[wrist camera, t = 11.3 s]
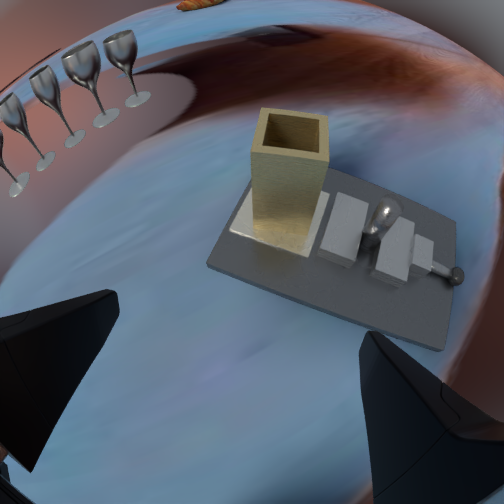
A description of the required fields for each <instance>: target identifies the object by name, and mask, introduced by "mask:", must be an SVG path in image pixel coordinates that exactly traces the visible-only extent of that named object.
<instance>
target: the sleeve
mask: <svg viewBox="0 0 504 504" xmlns="http://www.w3.org/2000/svg"><path fill="white" fill-rule="evenodd" d="M250 153H251V181H252V210H253V228H254V229H262V230H270V231H277V232H284V233H292V234H299V235H306V236H307V235H308V232H309V229H310V226H311V222H312V219H313V216H314V213H315V209H316V206H317V203H318V199H319V196H320V193H321V189H322V186H323V182H324V179H325V176H326V172H327V168H328V165H329V132H328V116H324V115H318V114H312V113H305V112H297V111H289V110H281V109H271V108H261V111H260V115H259V119H258V123H257V127H256V131H255V135H254V139H253V143H252V147H251V151H250Z"/></svg>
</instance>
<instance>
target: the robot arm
mask: <svg viewBox="0 0 504 504" xmlns="http://www.w3.org/2000/svg"><path fill="white" fill-rule="evenodd" d="M119 313H120V309H119V302H118V295H117V293H116V292H115V291H113V290H109V289H105V290H101V291H97V292H94V293H90V294H87V295H83V296H79V297H76V298H72V299H69V300H65V301H61V302H58V303H54V304H51V305H47V306H44V307H40V308H36V309H33V310H31V311H30V310H29V311H26V312H22V313H18V314H14V315H10V316H6V317H1V318H0V504H35V503H34V502H33V501H31V500H30V499H29V498H28V497H26V496H25V495H24V494H23V493H21V492H20V491H19V490H18V489H17V488H15V487H14V486H13V485H12V484H11V483H10V478H9V473H8V467H7V465H6V464H5V463H4V462H3V461H4V459H5V458H6V457H7V455H9V456H10V457H11V458H12V459H14V460H15V461H16V462H17V463H18V464H20V465H21V466H22V467H23V468H25V469H26V470H27V471H28V472H30V473H31V472H32V471H33V469H34V467H35V465H36V463H37V461H38V459H39V457H40V454H41V452H42V450H43V449H44V447H45V445H46V443H47V441H48V439H49V437H50V435H51V433H52V431H53V429H54V427H55V425H56V424H57V422H58V420H59V418H60V416H61V415H62V413H63V411H64V409H65V408H66V406H67V404H68V402H69V401H70V399H71V397H72V395H73V394H74V392H75V390H76V389H77V387H78V385H79V384H80V382H81V380H82V379H83V377H84V376H85V374H86V372H87V371H88V369H89V367H90V366H91V364H92V363H93V361H94V360H95V358H96V356H97V355H98V353H99V352H100V350H101V349H102V347H103V345H104V343H105V342H106V340H107V338H108V336H109V334H110V332H111V330H112V328H113V326H114V324H115V322H116V320H117V318H118V316H119ZM359 366H360V384H361V395H362V402H363V408H364V415H365V422H366V429H367V436H368V444H369V453H370V462H371V473H372V485H373V498H374V499H373V503H374V504H504V422H501V421H498V420H496V419H494V418H492V417H491V416H490V415H488V414H487V413H485V412H484V411H482V410H481V409H479V408H478V407H476V406H475V405H473V404H472V403H470V402H469V401H467V400H466V399H465V398H463V397H462V396H460V395H459V394H457V393H456V392H455V391H454V390H452V389H451V388H450V387H449V386H447V385H446V384H445V383H444V382H443V383H442V381H441V380H440V379H439V378H437V377H436V376H435V375H433V374H432V373H431V372H430V371H428V370H427V369H426V368H425V367H423V366H422V365H421V364H420V363H418V362H417V361H416V360H414V359H413V358H412V357H411V356H409V355H408V354H407V353H406V352H404V351H403V350H402V349H400V348H399V347H398V346H397V345H395V344H394V343H393V342H392V341H390V340H389V339H388V338H386V337H385V336H384V335H383V334H381V333H380V332H378V331H367V332H366V334H365V337H364V339H363V342H362V345H361V347H360V350H359Z"/></svg>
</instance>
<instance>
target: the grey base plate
mask: <svg viewBox="0 0 504 504" xmlns="http://www.w3.org/2000/svg"><path fill="white" fill-rule="evenodd" d="M455 255H456V222H455V221H453V220H451V219H449V218H447V217H445V216H443V215H441V214H439V213H437V212H435V211H433V210H431V209H429V208H427V207H425V206H423V205H421V204H418V203H416V202H414V201H412V200H410V199H407V198H405V197H403V196H401V195H398V194H396V193H394V192H391V191H389V190H387V189H384V188H382V187H379V186H377V185H375V184H372V183H370V182H367V181H364V180H362V179H359V178H357V177H354V176H351V175H349V174H346V173H343V172H340V171H338V170H335V169H332V168H329V167H328V168H327V172H326V176H325V179H324V182H323V186H322V189H321V193H320V196H319V199H318V203H317V206H316V209H315V213H314V216H313V219H312V222H311V226H310V229H309V232H308V235H307V236H306V235H299V234H292V233H284V232H277V231H270V230H262V229H254V228H253V210H252V181H251V180H250V182H249V184H248V186H247V187H246V189H245V191H244V193H243V195H242V196H241V198H240V200H239V202H238V204H237V205H236V207H235V209H234V211H233V213H232V215H231V216H230V218H229V220H228V222H227V224H226V226H225V228H224V229H223V231H222V233H221V235H220V237H219V239H218V241H217V243H216V244H215V246H214V248H213V250H212V252H211V254H210V256H209V258H208V260H207V262H206V264H207V266H208V267H209V268H211V269H213V270H216V271H218V272H221V273H223V274H226V275H228V276H231V277H233V278H236V279H238V280H241V281H243V282H246V283H248V284H251V285H253V286H256V287H258V288H261V289H263V290H266V291H269V292H271V293H274V294H276V295H279V296H281V297H284V298H287V299H289V300H292V301H295V302H297V303H300V304H303V305H305V306H308V307H310V308H313V309H316V310H319V311H321V312H324V313H327V314H329V315H332V316H335V317H338V318H340V319H343V320H346V321H349V322H351V323H354V324H357V325H360V326H363V327H365V328H368V329H371V330H374V331H378V332H380V333H383V334H386V335H388V336H391V337H394V338H397V339H400V340H403V341H406V342H409V343H412V344H415V345H418V346H421V347H424V348H427V349H430V350H433V351H436V352H439V351H443V350H444V347H445V342H446V337H447V331H448V325H449V319H450V312H451V305H452V296H453V286H459V285H460V284H462V282H463V280H464V272H463V270H462V269H461V268H459V267H455Z"/></svg>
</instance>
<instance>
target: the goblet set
mask: <svg viewBox="0 0 504 504" xmlns="http://www.w3.org/2000/svg"><path fill="white" fill-rule="evenodd" d="M103 48H104V53H105V55H106V58H107V59H108V61H109V62H110V63H111V64H112V65H113V66H115V67H117V68H118V69H120V70H122V71H123V72H124V73H125V74H126V75H127V77H128V79H129V81H130V83H131V85H132V87H133V91H134V93H135V94H133V95H131V96H130V97H129V98H128V99H127V100H126V101H125V106H127V107H136V106H139V105H141V104H143V103H145V102H146V101H148V100H149V99H150V97H151V93H150V92H148V91H141V92H138V93H137V92H136V89H135V85H134V81H133V77H132V68H133V65H134V62H135V59H136V57H137V52H138V45H137V40H136V37H135V35H134V33H133V31H132V30H125V31H122V32H119V33H116V34H114V35H112V36H110V37H108V38H106V39H105V40H104V41H103ZM61 61H62V65H63V69H64V71H65V73H66V75H67V76H68V77H69V79H70V80H71V81H72V82H74V83H75V84H77V85H80V86H82V87H84V88H86V89H88V90H90V91H91V92H92V94H93V95H94V97H95V99H96V101H97V103H98V105H99V107H100V109H101V111H102V113H100V114H99V115H98V116H97V117H96V118H95V119H94V121H93V126H94V127H95V128H100V127H104V126H106V125H108V124H110V123H112V122H113V121H114V120H115V119H116V118H117V117H118V116H119V113H120V111H119V109H117V108H112V109H108V110H105V111H104V109H103V107H102V105H101V102H100V100H99V97H98V94H97V90H96V85H97V80H98V77H99V74H100V69H101V58H100V54H99V51H98V48H97V46H96V45H95V43H94V41H93V40H91V41H87V42H84V43H82V44H79V45H77V46H76V47H74V48H72V49H70V50H69V51H68V52H66V53H65V54H64V55H63V56H62V57H61ZM29 81H30V85H31V88H32V90H33V92H34V94H35V96H36V97H37V98H38V100H39V101H40V102H42V103H43V104H44V105H46V106H48V107H50V108H51V109H53V110H54V111H55V112H56V113H57V114H58V115H59V116H60V117H61V119H62V120H63V122H64V123H65V125H66V127H67V128H68V130H69V131H70V133H71V135H70V136H69V137H68V138H67V139H66V141H65V144H64V146H65V147H66V148H71V147H73V146H75V145H77V144H78V143H79V142H80V141H81V140H82V139H83V138H84V137H85V134H86V132H85V130H78V131H76V132H74V133H73V132H72V131H71V129H70V127H69V125H68V124H67V122H66V120H65V117H64V115H63V112H62V109H61V99H60V97H61V93H60V85H59V81H58V79H57V76H56V74H55V73H54V71H53V70H52V68H51V67H50V66H49V65H46V66H44V67H42V68H40V69H39V70H37V71H36V72H35V73H33V74H32V75H31V76H30V78H29ZM0 117H1V119H2V121H3V122H4V123H5V124H6V125H7V126H8V127H9V128H10V129H12V130H14V131H16V132H18V133H20V134H22V135H23V136H24V137H26V138H27V139H28V140H29V142H30V143H31V144H32V145H33V147H34V148H35V149H36V150H37V152H38V153H39V154H40V156H41V157H42V158H41V159H40V160H39V161H38V163H37V166H36V169H37V171H42V170H44V169H46V168H47V167H48V166H49V165H50V164H51V163H52V162H53V160H54V158H55V152H53V151H51V152H48V153H46V154H45V155H44V156H43V155H42V154H41V152H40V151H39V149H38V148H37V146H36V145H35V143H34V141H33V140H32V138H31V136H30V134H29V130H28V125H27V118H26V112H25V109H24V106H23V104H22V103H21V101H20V99H19V98H18V97H17V96H16V95H15V94H14V93H13V92H12V93H10V94H8V95H7V96H6V97H5V98H4V99H3V100H2V101H1V102H0ZM3 139H4V138H3V133H2V131H1V130H0V167H2V168H3V169H4V170H5V171H6V172H7V173H8V174H9V175H10V176H11V177H12V178H13V180H14V182H13V184H12V185H11V188H10V191H9V195H10V196H11V197H15V196H17V195H18V194H20V193H21V192H22V191H23V189H24V188H25V187H26V185H27V183H28V181H29V178H30V174H29V173H28V172H24V173H22V174H21V175H19V176H18V177H17V178H15V177H14V176H13V175H12V174H11V173H10V171H9V170H8V169H7V168H6V166H5V164H4V161H3V158H2V150H3V142H4V140H3Z"/></svg>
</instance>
